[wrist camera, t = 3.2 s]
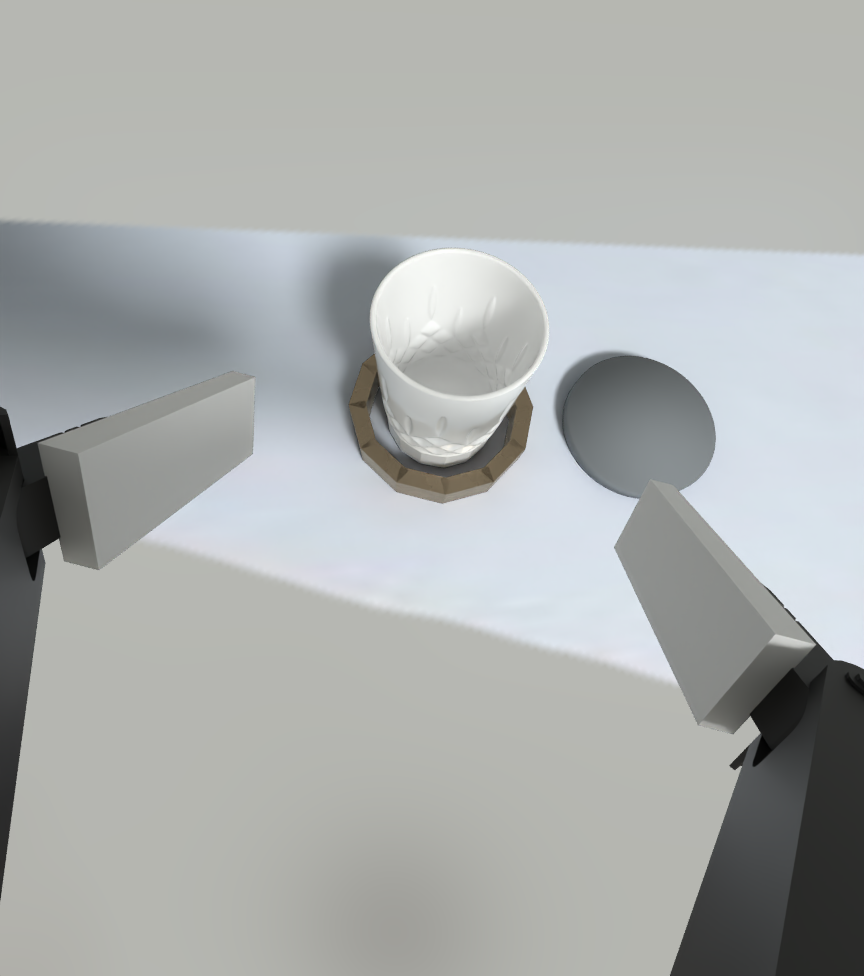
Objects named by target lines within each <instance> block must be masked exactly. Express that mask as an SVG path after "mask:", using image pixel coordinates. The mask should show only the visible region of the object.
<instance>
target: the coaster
mask: <svg viewBox="0 0 864 976" xmlns="http://www.w3.org/2000/svg"><path fill="white" fill-rule="evenodd" d="M563 430H564V435H565V439H566V442H567V445H568V447H569V449H570V451H571V453H572V455H573V457H574V458H575V460H576V461H577V463H578V464H579V465H580V466H581V468H582V469H583V470H584V471H585V472H586V473H587V474H588V475H589V476H590V477H591V478H592V479H594V480H595V481H596V482H598V483H599V484H600V485H602V486H604V487H605V488H607V489H609V490H611V491H613V492H616V493H618V494H621V495H624V496H627V497H633V498H640V497H641V496H642V494H643V492H644V490H645V488H646V486H647V484H648V482H649V480H650V479H651V480H655V481H659V482H663V483H667V484H671V485H673V486H674V487H675V488H676V489H677V490H678V491H680V490H682V489H684V488H686V487H688V486H690V485H691V484H693V483H694V482H695V481H696V480H698V479H699V478H700V477H701V476H702V475H703V473H704V472H705V471H706V469H707V468H708V466H709V464H710V462H711V460H712V457H713V454H714V450H715V442H716V437H715V427H714V422H713V418H712V415H711V412H710V410H709V408H708V406H707V404H706V402H705V400H704V399H703V397H702V396H701V394H700V393H699V392H698V390H697V389H696V388H695V387H694V386H693V385H692V384H691V383H690V382H689V381H688V380H687V379H686V378H685V377H684V376H682V375H681V374H680V373H678V372H677V371H675V370H674V369H672V368H670V367H668V366H667V365H665V364H662V363H660V362H658V361H654V360H651V359H648V358H643V357H636V356H620V357H614V358H610V359H607V360H604V361H602V362H599V363H597V364H595V365H594V366H592V367H591V368H589V369H588V370H587V371H586V372H585V373H584V374H583V375H582V376H581V377H580V378H579V380H578V381H577V382H576V384H575V385H574V386H573V388H572V389H571V391H570V392H569V394H568V396H567V399H566V401H565V405H564V409H563Z"/></svg>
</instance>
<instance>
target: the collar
mask: <svg viewBox="0 0 864 976" xmlns="http://www.w3.org/2000/svg"><path fill="white" fill-rule="evenodd" d="M379 387H380V384H379V378H378V371H377V365H376V359H375V354H373V355H372V356H371V357H370V358H369V359H367V360H366V361H365V362H364V363H363V364H362V367H361V370H360V372H359V375H358V378H357V381H356V384H355V387H354V390H353V393H352V396H351V399H350V402H349V409H350V413H351V417H352V420H353V424H354V428H355V432H356V435H357V439H358V443H359V447H360V450H361V454H362V458H363V461H364V462H365V463H366V464H368V465H369V466H370V467H371V468H372V469H373V470H374V471H375V472H376V473H377V474H378V475H379V476H380V477H381V478H382V479H383V480H384V481H385V482H386V483H387V484H389V485H390V486H391V487H392V488H393V489H394V490H395V491H396V492H399V493H403V494H406V495H410V496H414V497H418V498H422V499H426V500H430V501H434V502H438V503H442V504H443V503H446V502H450V501H454V500H457V499H461V498H465V497H469V496H472V495H476V494H480V493H483V492H487V491H488V490H489V489H490V488H491V487H492V486H493V485H494V484H495V483H496V481H497V480H498V479H499V478H500V477H501V476H502V475H503V474H504V473H505V472H506V471H507V470H508V469H509V468H510V467H511V466H512V465H513V464H514V463H515V462H516V461H517V460H518V458H519V457H520V456H521V454H522V453H523V452H524V450H525V448H526V442H527V437H528V431H529V426H530V421H531V415H532V410H533V405H532V403H531V400H530V398H529V395H528V393H527V390H526V388H525V387H524V389H523V390H522V392H521V393H520V395H519V396H518V398H517V400H516V401H515V403H514V404H513V406H512V407H511V409H510V410H509V412H508V413H507V417H508V420H509V422H508V427H507V432H506V437H505V442H504V447H503V449H502V450H501V451H500V452H499V453H498V454H497V455H496V456H495V457H494V458H493V459H492V460H491V461H490V462H489V463H488V464H487V465H486V466H485V467H484V468H480V469H477V470H473V471H469V472H465V473H461V474H457V475H454V476H450V477H446V478H445V477H441V476H437V475H433V474H429V473H425V472H421V471H417V470H413V469H409V468H405V467H404V466H403V465H402V464H401V463H400V462H399V461H398V460H397V459H395V458H394V457H393V456H392V455H391V454H390V453H389V452H388V451H387V450H386V449H385V448H384V447H383V446H382V445H380V444H379V443H378V442H377V441H376V439H375V435H374V431H373V428H372V424H371V421H370V417H369V415H370V412H371V409H372V406H373V403H374V400H375V397H376V393H377V390H378V388H379Z"/></svg>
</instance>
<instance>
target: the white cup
mask: <svg viewBox="0 0 864 976" xmlns="http://www.w3.org/2000/svg"><path fill="white" fill-rule="evenodd" d="M370 329H371V335H372V341H373V347H374V353H375V359H376V365H377V371H378V378H379V384H380V390H381V394H382V399H383V404H384V408H385V411H386V414H387V417H388V424H389V431H390V433H391V434H392V436H393V438H394V440H395V441H396V443H397V445H398V446H399V448H400V450H401V451H402V452H404V453H405V454H407V455H408V456H410V457H411V458H413V459H414V460H416V461H417V462H418V463H420V464H425V465H431V466H436V467H442V468H444V467H448V466H452V465H456V464H460V463H464V462H466V461H468V460H469V459H470V458H471V457H472V456H473V455H475V454H476V453H477V452H478V451H479V450H480V449H481V448H483V446H484V445H485V443H486V442H487V440H488V438H489V437H490V436H491V435H492V434H493V433H494V431H495V430H496V429H497V428H498V426H499V424H500V423H501V421H502V420H503V419H504V418H505V416H506V415H507V413H508V412H509V410H510V409H511V407H512V406H513V404H514V403H515V401H516V400H517V398H518V396H519V395H520V393H521V392H522V390H523V389H524V387H525V386H526V384H527V383H528V381H529V380H530V378H531V377H532V375H533V374H534V372H535V371H536V369H537V368H538V366H539V365H540V363H541V361H542V359H543V357H544V355H545V352H546V349H547V345H548V340H549V321H548V315H547V312H546V308H545V306H544V303H543V301H542V299H541V297H540V295H539V294H538V292H537V290H536V289H535V288H534V286H533V285H532V284H531V283H530V281H529V280H528V279H527V278H526V277H525V276H524V275H523V274H522V273H520V272H519V271H518V270H517V269H515V268H514V267H513V266H511V265H510V264H508V263H506V262H505V261H503V260H501V259H499V258H497V257H495V256H492V255H490V254H487V253H484V252H480V251H476V250H471V249H464V248H441V249H434V250H429V251H425V252H422V253H419V254H416V255H414V256H412V257H410V258H408V259H406V260H404V261H403V262H401V263H400V264H398V265H397V266H396V267H394V268H393V269H392V270H391V271H390V272H389V273H388V274H387V275H386V276H385V277H384V279H383V280H382V281H381V283H380V284H379V286H378V288H377V290H376V292H375V294H374V297H373V300H372V303H371V308H370Z"/></svg>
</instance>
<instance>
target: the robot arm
mask: <svg viewBox="0 0 864 976" xmlns="http://www.w3.org/2000/svg"><path fill="white" fill-rule="evenodd" d="M254 404H255V377H253V376H249V375H246V374H242V373H238V372H234V371H231V372H228V373H226V374H223V375H220V376H218V377H215V378H212V379H210V380H207V381H204V382H201V383H199V384H196V385H193V386H191V387H188V388H185V389H182V390H180V391H177V392H174V393H172V394H169V395H166V396H163V397H161V398H158V399H155V400H153V401H150V402H147V403H144V404H142V405H139V406H136V407H134V408H131V409H128V410H126V411H123V412H120V413H117V414H115V415H112V416H109V417H104V418H99V419H96V420H93V421H91V422H88V423H85V424H83V425H81V427H74V428H72V429H69V430H66V431H65V433H62V432H61V433H58V434H55V435H52V436H50V437H47V438H44V439H41V440H39V441H36V442H33V443H30V444H28V445H25V446H22V447H19V448H17V449H16V445H15V441H14V437H13V433H12V429H11V425H10V421H9V417H8V414H7V411H6V409H4V408H2V407H0V898H1V891H2V884H3V876H4V868H5V861H6V854H7V846H8V839H9V831H10V824H11V816H12V808H13V801H14V793H15V786H16V779H17V771H18V763H19V756H20V748H21V741H22V734H23V726H24V719H25V711H26V704H27V696H28V689H29V681H30V674H31V666H32V658H33V651H34V643H35V636H36V629H37V621H38V614H39V606H40V599H41V591H42V584H43V576H44V568H45V560H44V556H43V552H42V548H44V547H45V546H47V545H49V544H50V543H52V542H54V541H55V540H57V539H59V541H60V545H61V550H62V554H63V559H64V561H65V562H69V563H73V564H77V565H81V566H85V567H88V568H92V569H96V570H100V569H101V568H103V567H104V566H105V565H107V564H108V563H109V562H111V561H112V560H113V559H115V558H116V557H117V556H119V555H120V554H121V553H122V552H124V551H125V550H126V549H128V548H129V547H130V546H132V545H133V544H134V543H136V542H137V541H138V540H140V539H141V538H142V537H144V536H145V535H146V534H148V533H149V532H150V531H152V530H153V529H154V528H156V527H157V526H158V525H160V524H161V523H162V522H164V521H165V520H166V519H168V518H169V517H170V516H171V515H173V514H174V513H175V512H177V511H178V510H179V509H181V508H182V507H183V506H185V505H186V504H187V503H189V502H190V501H191V500H193V499H194V498H195V497H197V496H198V495H199V494H201V493H202V492H203V491H205V490H206V489H207V488H209V487H210V486H211V485H212V484H214V483H215V482H216V481H218V480H219V479H220V478H222V477H223V476H224V475H226V474H227V473H228V472H230V471H231V470H232V469H234V468H235V467H236V466H238V465H239V464H240V463H242V462H243V461H244V460H246V459H247V458H248V457H250V456H251V455H252V454H253V435H254ZM614 548H615V550H616V552H617V555H618V557H619V559H620V561H621V563H622V565H623V567H624V569H625V571H626V574H627V576H628V578H629V580H630V582H631V584H632V586H633V588H634V591H635V593H636V595H637V597H638V599H639V601H640V603H641V605H642V607H643V610H644V612H645V614H646V616H647V618H648V620H649V622H650V624H651V627H652V629H653V631H654V633H655V635H656V637H657V639H658V641H659V643H660V646H661V648H662V650H663V652H664V654H665V656H666V658H667V660H668V663H669V665H670V667H671V669H672V671H673V673H674V675H675V677H676V679H677V682H678V684H679V686H680V688H681V690H682V692H683V694H684V696H685V698H686V701H687V703H688V705H689V707H690V709H691V711H692V713H693V715H694V718H695V720H696V722H697V724H698V725H699V726H703V727H707V728H711V729H715V730H718V731H722V732H726V733H730V734H734V733H735V732H736V731H737V730H738V729H739V727H740V726H741V725H742V724H743V723H744V722H745V721H746V720H747V719H748V718H749V717H750V716H751V718H752V719H753V721H754V722H755V724H756V726H757V727H758V729H759V731H760V732H761V734H760V735H759V736H758V737H757V738H756V739H755V740H754V741H753V742H752V743H751V744H750V745H749V746H748V747H747V748H746V749H745V750H744V751H743V752H742V753H741V754H740V755H739V756H738V757H737V758H736V759H735V760H734V761H733V762H732V764H731V765H730V767H731V768H733V769H734V770H736V769H737V768H738V767H739V766H742V768H741V771H740V774H739V777H738V780H737V783H736V786H735V788H734V791H733V794H732V797H731V800H730V803H729V806H728V809H727V812H726V815H725V817H724V820H723V823H722V826H721V829H720V832H719V835H718V838H717V841H716V844H715V847H714V849H713V852H712V855H711V858H710V861H709V864H708V867H707V870H706V873H705V876H704V878H703V881H702V884H701V887H700V890H699V893H698V896H697V898H696V901H695V904H694V907H693V910H692V913H691V916H690V919H689V922H688V925H687V927H686V930H685V933H684V936H683V939H682V942H681V945H680V948H679V951H678V953H677V956H676V959H675V962H674V965H673V968H672V971H671V974H670V976H864V669H862V668H860V667H858V666H856V665H853V664H850V663H847V662H844V661H837V660H833V659H832V658H831V657H830V656H829V655H828V653H827V652H826V651H825V650H824V649H823V648H822V647H821V646H820V645H819V644H818V642H817V641H816V640H815V639H814V638H813V637H812V636H811V635H810V634H809V632H808V631H807V630H806V629H805V628H804V627H803V626H802V625H801V624H800V623H799V622H798V621H795V619H796V618H795V617H794V616H793V615H792V614H791V613H790V612H789V610H788V609H786V608H784V605H783V604H782V603H781V602H780V600H779V599H778V598H777V597H776V596H775V595H774V594H773V593H772V592H771V591H770V590H769V589H768V588H767V587H765V586H764V585H763V584H761V582H760V581H759V580H758V579H757V578H756V577H755V576H754V575H753V574H752V572H751V571H750V570H749V569H748V568H747V567H746V566H745V565H744V564H743V562H742V561H741V560H740V559H739V558H738V557H737V556H736V555H735V554H734V552H733V551H732V550H731V549H730V548H729V547H728V546H727V545H726V543H725V542H724V541H723V540H722V539H721V538H720V537H719V536H718V535H717V533H716V532H715V531H714V530H713V529H712V528H711V527H710V526H709V525H708V523H707V522H706V521H705V520H704V519H703V518H702V517H701V516H700V515H699V513H698V512H697V511H696V510H695V509H694V508H693V507H692V506H691V504H690V503H689V502H688V501H687V500H686V499H685V498H684V497H683V496H682V494H681V493H680V492H679V491H678V490H677V489H676V488H675V487H674V486H673V485H671V484H667V483H663V482H659V481H655V480H651V479H650V480H649V482H648V484H647V486H646V488H645V490H644V492H643V494H642V496H641V497H640V499H639V501H638V503H637V505H636V507H635V509H634V511H633V513H632V514H631V516H630V518H629V520H628V522H627V524H626V526H625V528H624V530H623V532H622V533H621V535H620V537H619V539H618V541H617V543H616V545H615V547H614Z"/></svg>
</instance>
